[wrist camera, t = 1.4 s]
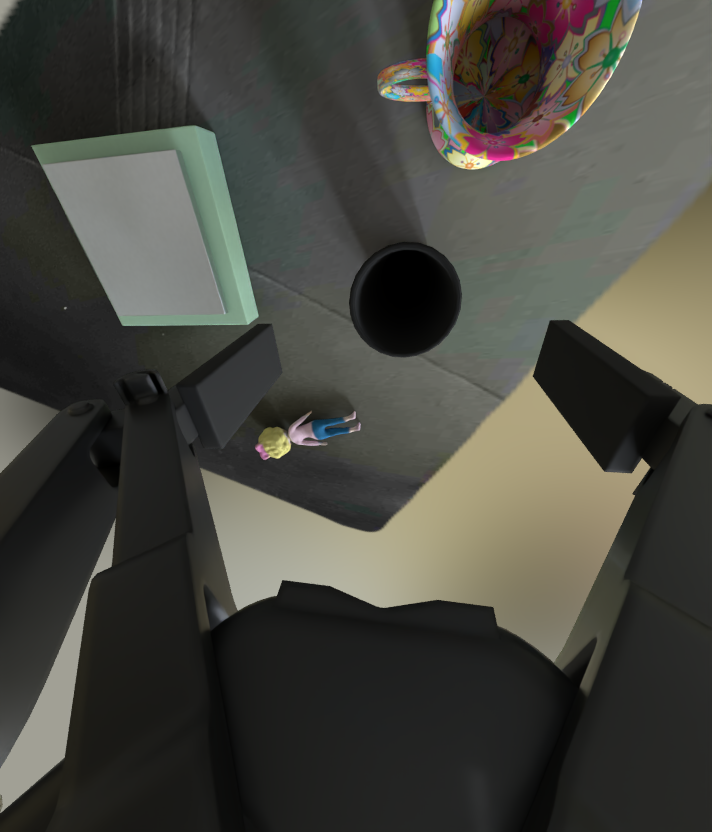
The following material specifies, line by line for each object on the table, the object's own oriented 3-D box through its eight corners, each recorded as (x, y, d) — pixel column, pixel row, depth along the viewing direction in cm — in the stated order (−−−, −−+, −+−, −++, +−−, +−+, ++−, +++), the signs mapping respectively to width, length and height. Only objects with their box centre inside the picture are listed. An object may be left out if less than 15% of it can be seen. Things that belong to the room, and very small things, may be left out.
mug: (568, -21, 19) (699, -209, 10) (536, 166, 24) (606, 143, 16) (382, 29, 21) (362, -93, 13) (389, 189, 26) (379, 181, 18)
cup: (358, 247, 29) (332, 266, 20) (436, 216, 27) (451, 221, 17) (380, 321, 33) (368, 368, 24) (450, 300, 31) (469, 342, 21)
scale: (56, 151, 29) (24, 146, 26) (214, 132, 26) (194, 124, 24) (136, 318, 38) (117, 326, 35) (259, 316, 35) (247, 324, 33)
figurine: (351, 396, 40) (257, 420, 44) (348, 414, 37) (245, 438, 41) (364, 430, 43) (275, 449, 47) (362, 449, 40) (266, 469, 44)
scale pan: (49, 165, 26) (40, 164, 26) (181, 150, 24) (174, 148, 24) (123, 314, 34) (118, 316, 33) (228, 312, 32) (225, 314, 31)
